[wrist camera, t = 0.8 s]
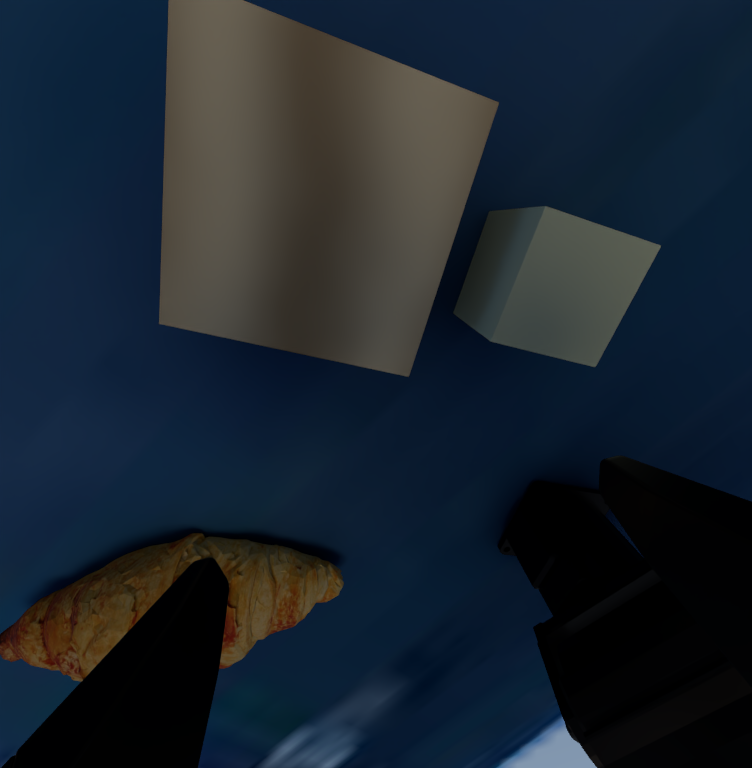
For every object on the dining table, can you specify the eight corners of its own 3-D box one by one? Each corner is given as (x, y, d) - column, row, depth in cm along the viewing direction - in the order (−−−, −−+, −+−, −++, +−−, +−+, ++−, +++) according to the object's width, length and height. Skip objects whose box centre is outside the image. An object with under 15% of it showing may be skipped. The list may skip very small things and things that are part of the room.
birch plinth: (459, 131, 15) (498, 102, 11) (394, 347, 19) (408, 376, 15) (215, 40, 13) (169, -29, 10) (197, 302, 17) (159, 323, 13)
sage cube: (577, 240, 18) (661, 245, 13) (534, 334, 20) (595, 367, 15) (488, 211, 17) (545, 206, 12) (452, 313, 19) (490, 341, 14)
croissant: (334, 491, 27) (325, 527, 19) (355, 624, 26) (355, 719, 19) (46, 543, 26) (-94, 606, 18) (62, 685, 25) (-74, 815, 17)
